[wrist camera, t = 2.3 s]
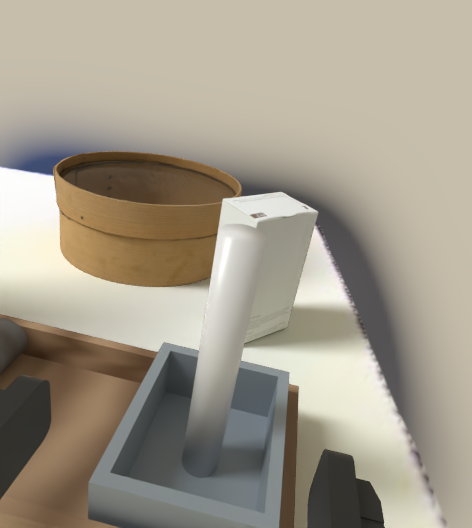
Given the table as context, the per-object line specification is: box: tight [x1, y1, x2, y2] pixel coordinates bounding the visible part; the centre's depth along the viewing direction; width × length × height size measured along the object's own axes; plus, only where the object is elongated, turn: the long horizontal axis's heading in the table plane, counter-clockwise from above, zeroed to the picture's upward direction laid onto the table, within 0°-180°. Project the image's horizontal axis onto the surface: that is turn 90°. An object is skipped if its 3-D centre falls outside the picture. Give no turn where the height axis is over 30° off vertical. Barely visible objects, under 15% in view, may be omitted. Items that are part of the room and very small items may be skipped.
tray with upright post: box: [88, 224, 289, 528], centre depth 25 cm, size 10×12×18 cm
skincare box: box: [211, 192, 318, 343], centre depth 44 cm, size 8×6×15 cm
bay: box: [0, 314, 299, 528], centre depth 29 cm, size 26×15×5 cm, turn 81°
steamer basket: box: [53, 151, 242, 287], centre depth 60 cm, size 25×25×11 cm
